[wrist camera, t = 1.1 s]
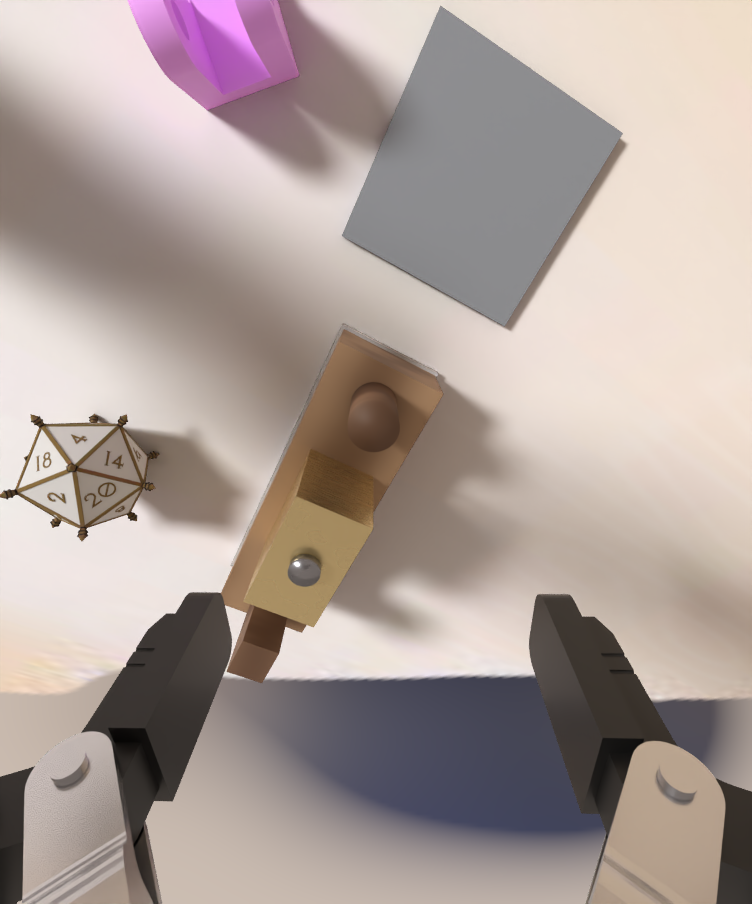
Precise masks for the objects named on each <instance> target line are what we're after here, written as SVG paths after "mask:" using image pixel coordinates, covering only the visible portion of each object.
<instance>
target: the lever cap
mask: <svg viewBox="0 0 752 904" xmlns="http://www.w3.org/2000/svg"><path fill="white" fill-rule="evenodd" d="M372 530H373V476H370V475H368V474H366V473H364V472H362V471H359V470H357V469H355V468H353V467H350V466H348V465H346V464H344V463H341V462H339V461H337V460H335V459H333V458H330V457H328V456H326V455H324V454H321V453H319V452H317V451H315V450H312V449H310V451H309V453H308V455H307V457H306V460H305V462H304V464H303V466H302V468H301V470H300V472H299V474H298V476H297V478H296V480H295V482H294V484H293V486H292V488H291V490H290V492H289V494H288V496H287V498H286V500H285V502H284V504H283V506H282V508H281V510H280V512H279V515H278V517H277V519H276V521H275V523H274V525H273V527H272V529H271V531H270V533H269V535H268V537H267V539H266V541H265V544H264V547H263V549H262V552H261V555H260V557H259V560H258V563H257V566H256V568H255V571H254V574H253V576H252V579H251V582H250V585H249V587H248V590H247V593H246V595H245V598H244V601H243V602H245V603H248V604H251V605H254V606H256V607H259V608H262V609H265V610H267V611H270V612H273V613H276V614H278V615H281V616H284V617H287V618H289V619H292V620H295V621H298V622H300V623H303V624H306V625H309V626H311V627H314V626H315V624H316V623H317V621H318V619H319V618H320V616H321V614H322V613H323V611H324V609H325V608H326V606H327V604H328V603H329V601H330V599H331V598H332V596H333V594H334V593H335V591H336V590H337V588H338V586H339V585H340V583H341V581H342V580H343V578H344V576H345V575H346V573H347V571H348V570H349V568H350V566H351V565H352V563H353V561H354V560H355V558H356V556H357V555H358V553H359V551H360V550H361V548H362V547H363V545H364V543H365V542H366V540H367V538H368V537H369V535H370V533H371V532H372Z"/></svg>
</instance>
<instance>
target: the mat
mask: <svg viewBox="0 0 752 904" xmlns="http://www.w3.org/2000/svg"><path fill="white" fill-rule="evenodd" d="M622 134H623V133H622V132H620V131H619V130H617V129H616V128H615V127H613V126H612V125H610V124H609V123H607V122H606V121H605V120H603V119H602V118H600V117H599V116H597V115H596V114H595V113H593V112H592V111H590V110H589V109H587V108H586V107H585V106H583V105H582V104H580V103H579V102H577V101H576V100H575V99H573V98H572V97H570V96H569V95H567V94H566V93H565V92H563V91H562V90H560V89H559V88H557V87H556V86H555V85H553V84H552V83H550V82H549V81H547V80H546V79H545V78H543V77H542V76H540V75H539V74H537V73H536V72H535V71H533V70H532V69H530V68H529V67H527V66H526V65H525V64H523V63H522V62H520V61H519V60H517V59H516V58H515V57H513V56H512V55H510V54H509V53H507V52H506V51H505V50H503V49H502V48H500V47H499V46H497V45H496V44H495V43H493V42H492V41H490V40H489V39H487V38H486V37H485V36H483V35H482V34H480V33H479V32H477V31H476V30H475V29H473V28H472V27H470V26H469V25H467V24H466V23H465V22H463V21H462V20H460V19H459V18H457V17H456V16H455V15H453V14H452V13H450V12H449V11H447V10H446V9H445V8H443V7H442V6H440V8H439V11H438V13H437V15H436V18H435V20H434V22H433V25H432V27H431V29H430V32H429V34H428V36H427V39H426V41H425V43H424V46H423V48H422V50H421V52H420V55H419V57H418V59H417V62H416V64H415V66H414V69H413V71H412V73H411V76H410V78H409V80H408V83H407V85H406V87H405V90H404V92H403V94H402V97H401V99H400V101H399V104H398V106H397V108H396V111H395V113H394V115H393V118H392V120H391V122H390V125H389V127H388V129H387V132H386V134H385V136H384V139H383V141H382V143H381V146H380V148H379V150H378V153H377V155H376V157H375V160H374V162H373V164H372V167H371V169H370V171H369V174H368V176H367V178H366V181H365V183H364V185H363V188H362V190H361V192H360V195H359V197H358V199H357V202H356V204H355V206H354V209H353V211H352V213H351V216H350V218H349V220H348V223H347V225H346V227H345V230H344V232H343V234H342V236H343V237H345V238H346V239H348V240H350V241H352V242H354V243H355V244H357V245H359V246H361V247H363V248H364V249H366V250H368V251H370V252H372V253H373V254H375V255H377V256H379V257H381V258H382V259H384V260H386V261H388V262H390V263H391V264H393V265H395V266H397V267H399V268H400V269H402V270H404V271H406V272H407V273H409V274H411V275H413V276H415V277H416V278H418V279H420V280H422V281H424V282H425V283H427V284H429V285H431V286H433V287H434V288H436V289H438V290H440V291H442V292H443V293H445V294H447V295H449V296H451V297H452V298H454V299H456V300H458V301H460V302H461V303H463V304H465V305H467V306H469V307H470V308H472V309H474V310H476V311H478V312H479V313H481V314H483V315H485V316H487V317H488V318H490V319H492V320H494V321H496V322H497V323H499V324H501V325H503V326H505V325H506V323H507V322H508V320H509V318H510V317H511V315H512V313H513V312H514V310H515V308H516V307H517V305H518V304H519V302H520V300H521V299H522V297H523V295H524V294H525V292H526V291H527V289H528V287H529V286H530V284H531V282H532V281H533V279H534V277H535V276H536V274H537V273H538V271H539V269H540V268H541V266H542V264H543V263H544V261H545V260H546V258H547V256H548V255H549V253H550V251H551V250H552V248H553V246H554V245H555V243H556V242H557V240H558V238H559V237H560V235H561V233H562V232H563V230H564V229H565V227H566V225H567V224H568V222H569V220H570V219H571V217H572V215H573V214H574V212H575V211H576V209H577V207H578V206H579V204H580V202H581V201H582V199H583V197H584V196H585V194H586V193H587V191H588V189H589V188H590V186H591V184H592V183H593V181H594V180H595V178H596V176H597V175H598V173H599V171H600V170H601V168H602V166H603V165H604V163H605V162H606V160H607V158H608V157H609V155H610V153H611V152H612V150H613V149H614V147H615V145H616V144H617V142H618V140H619V139H620V137H621V135H622Z"/></svg>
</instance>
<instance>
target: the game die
mask: <svg viewBox="0 0 752 904" xmlns="http://www.w3.org/2000/svg"><path fill="white" fill-rule="evenodd" d="M30 415H31V414H30ZM89 418H90V420H89V421H90V422H91V423H66V424H44V423H43V419H42V420H41V418H40V416H39V417H38V416H35V415H31V422H33V423H34V425H37V426H39V430H38V432H37V435H36V437H35V440H34V443H33V445H32V448H31V450H30V453H29V455H28V456H26V457H24V459H25V460H26V463H25V466H24V468H23V471H22V473H21V476H20V478H19V481H18V483H17V486H16V489H15V490H10V489H9V490H8V491H5V490H4V491H3V492H2V493H1V494H0V497H1V498H6V499H8V498H10V497H11V498H13V496H15V495H19V496H20V497H22V498H24V499H25V500H27V501H29V502H30V503H32V504H34V505H35V506H37V507H39V508H40V509H42V510H43V511H45V512H47V513H48V514H50V515H52V516H53V517H55V519H52V520H53V521H51V522H50V523H51V524H52V528H54V527H56V526H59V524H60V522H61V521H64V522H66V523H68V524H71V525H73V526H75V527H78V528H80V530H79V532H78V536H77V537H79V538H80V540H81V541H83V540H84V539H85V538H86V537H87V536H88V535H87V533H88V531H87V530H86V529H87V528H88V527H91V526H94V525H97V524H100V523H103V522H106V521H109V520H112V519H115V518H118V517H121V516H124V515H128V519H130V521H131V520H133V521H137V515H135V513H132V512H131V511H132V509H133V507H134V505H135V503H136V501H137V499H138V497H139V496H140V494H141V492H142V490H143V488H145V489H146V490H149V491H151V490H153V489H155V486H154V485H153V483H150V482H148V483H145V481H146V474H147V467H148V460H149V459H154V458H157V456H158V455H159V453H156V452H154V451H153V452H152V453H151V452H150V454H146V453H145V452H144V451H143V449H142V448H141V447H140V446H139V445H138V444H137V443H136V442H135V440H134V439H133V438H132V437H131V436H130V435H129V434H128V433H127V431H126V430H125V429H124V428H123V425H125V424H126V422H128V420H127V415H124V416H122V417H121V416H120V419H119V420H118V424H111V423H97V421H98V417H97V416H96V415H95V414H94V415H92V416H91V417H89Z"/></svg>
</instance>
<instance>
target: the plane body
mask: <svg viewBox="0 0 752 904" xmlns="http://www.w3.org/2000/svg"><path fill="white" fill-rule="evenodd" d="M437 376H438V372H437V371H435V370H433V369H431V368H429V367H427V366H425V365H423V364H421V363H419V362H417V361H415V360H413V359H411V358H409V357H407V356H406V355H404V354H402V353H400V352H398V351H396V350H394V349H392V348H390V347H388V346H386V345H384V344H382V343H380V342H378V341H376V340H374V339H372V338H371V337H369V336H367V335H365V334H363V333H361V332H359V331H357V330H355V329H353V328H351V327H349V326H347V325H345V324H342V327H341V329H340V331H339V333H338V335H337V337H336V339H335V342H334V344H333V346H332V348H331V350H330V352H329V355H328V357H327V359H326V361H325V363H324V365H323V367H322V370H321V372H320V374H319V376H318V378H317V380H316V383H315V385H314V387H313V389H312V391H311V393H310V395H309V398H308V400H307V402H306V404H305V406H304V408H303V411H302V413H301V415H300V417H299V419H298V421H297V423H296V426H295V428H294V430H293V432H292V434H291V436H290V439H289V441H288V443H287V445H286V447H285V449H284V451H283V454H282V456H281V458H280V460H279V462H278V464H277V466H276V469H275V471H274V473H273V475H272V477H271V479H270V482H269V484H268V486H267V488H266V490H265V492H264V494H263V497H262V499H261V501H260V503H259V505H258V507H257V510H256V512H255V514H254V516H253V518H252V520H251V522H250V525H249V527H248V529H247V531H246V533H245V535H244V538H243V540H242V542H241V544H240V546H239V548H238V550H237V553H236V555H235V557H234V559H233V561H232V563H231V566H233V567H232V569H231V572H230V574H229V576H228V579H227V581H226V583H225V585H224V588H223V590H222V592H221V595H222V597H223V600H224V605H227V606H229V607H232V608H235V609H238V610H240V611H243V612H246V613H247V614H246V617H245V620H244V623H243V626H242V629H241V632H240V634H239V637H238V640H237V643H236V646H235V649H234V652H233V655H232V658H231V660H230V663H229V666H228V669H227V672H229V673H232V674H236V675H239V676H242V677H245V678H248V679H251V680H254V681H257V682H260V683H262V682H263V680H264V679H265V677H266V675H267V673H268V672H269V670H270V668H271V667H272V665H273V663H274V661H275V660H276V658H277V656H278V654H279V652H280V647H281V643H282V639H283V634H284V630H285V627H288V628H290V629H293V630H296V631H299V632H303V630H304V628H305V627H306V624H303V623H300V622H298V621H295V620H292V619H289V618H287V617H284V616H281V615H278V614H276V613H273V612H270V611H267V610H265V609H262V608H259V607H256V606H254V605H251V604H248V603H245V602H243V601H244V598H245V595H246V593H247V590H248V587H249V585H250V582H251V579H252V576H253V574H254V571H255V568H256V566H257V563H258V560H259V557H260V555H261V552H262V549H263V547H264V544H265V541H266V539H267V537H268V535H269V533H270V531H271V529H272V527H273V525H274V523H275V521H276V519H277V517H278V515H279V512H280V510H281V508H282V506H283V504H284V502H285V500H286V498H287V496H288V494H289V492H290V490H291V488H292V486H293V484H294V482H295V480H296V478H297V476H298V474H299V472H300V470H301V468H302V466H303V464H304V462H305V460H306V457H307V455H308V453H309V451H310V449H312V450H315V451H317V452H319V453H321V454H324V455H326V456H328V457H330V458H333V459H335V460H337V461H339V462H341V463H344V464H346V465H348V466H350V467H353V468H355V469H357V470H359V471H362V472H364V473H366V474H368V475H370V476H373V512H374V510H375V509H376V507H377V505H378V504H379V502H380V500H381V499H382V497H383V495H384V494H385V492H386V490H387V488H388V487H389V485H390V483H391V482H392V480H393V478H394V477H395V475H396V473H397V472H398V470H399V468H400V467H401V465H402V463H403V462H404V460H405V458H406V456H407V455H408V453H409V451H410V450H411V448H412V446H413V445H414V443H415V441H416V440H417V438H418V436H419V435H420V433H421V431H422V429H423V428H424V426H425V424H426V423H427V421H428V419H429V418H430V416H431V414H432V413H433V411H434V409H435V408H436V406H437V404H438V403H439V401H440V399H441V397H442V396H443V392H442V390H441V388H440V386H439V384H438V382H437V379H436V377H437Z"/></svg>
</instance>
